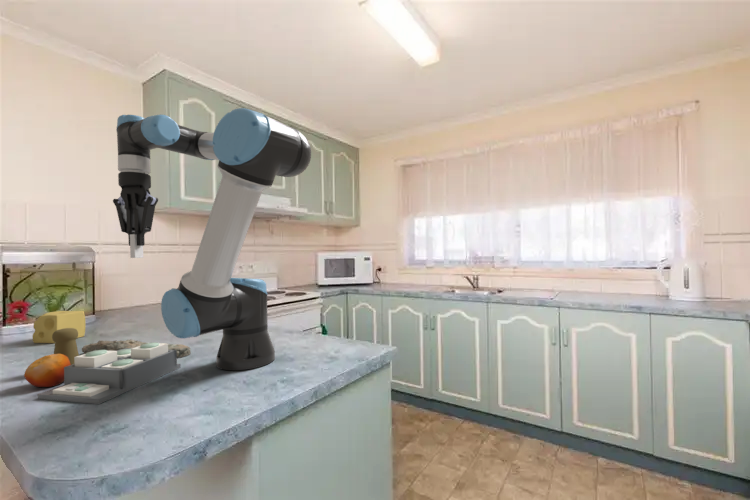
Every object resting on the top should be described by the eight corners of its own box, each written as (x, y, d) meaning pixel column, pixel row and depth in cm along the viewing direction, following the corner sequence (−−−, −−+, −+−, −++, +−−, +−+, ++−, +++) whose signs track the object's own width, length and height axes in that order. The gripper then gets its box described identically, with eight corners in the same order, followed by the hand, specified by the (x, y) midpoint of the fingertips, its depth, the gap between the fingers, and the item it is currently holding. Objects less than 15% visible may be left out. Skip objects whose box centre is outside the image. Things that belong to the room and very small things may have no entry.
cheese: (32, 343, 123) (31, 315, 123) (64, 335, 133) (63, 309, 133) (56, 344, 121) (56, 315, 121) (87, 336, 132) (86, 309, 132)
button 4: (168, 355, 90) (167, 341, 90) (150, 362, 85) (149, 348, 85) (150, 354, 91) (149, 341, 91) (130, 361, 86) (130, 347, 86)
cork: (63, 374, 89) (62, 331, 89) (44, 373, 90) (43, 331, 90) (87, 366, 95) (86, 326, 95) (69, 365, 96) (68, 326, 96)
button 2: (143, 372, 83) (143, 358, 83) (122, 381, 77) (121, 366, 77) (124, 371, 84) (123, 357, 84) (101, 380, 79) (101, 365, 79)
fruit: (87, 371, 87) (67, 348, 83) (55, 399, 80) (32, 375, 76) (66, 368, 89) (46, 346, 85) (34, 395, 83) (10, 372, 79)
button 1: (117, 363, 84) (117, 349, 84) (94, 371, 79) (94, 356, 79) (98, 362, 86) (98, 348, 86) (74, 370, 80) (74, 355, 80)
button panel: (180, 367, 92) (180, 348, 92) (99, 404, 71) (98, 379, 71) (130, 364, 96) (129, 346, 96) (38, 398, 74) (37, 375, 74)
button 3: (144, 361, 92) (143, 348, 92) (124, 368, 86) (124, 354, 86) (126, 360, 93) (126, 347, 93) (106, 367, 87) (105, 353, 87)
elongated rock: (175, 367, 98) (198, 357, 108) (176, 348, 98) (199, 340, 108) (68, 357, 103) (100, 349, 113) (70, 339, 103) (101, 333, 113)
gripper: (165, 174, 100) (167, 257, 100) (127, 177, 102) (129, 257, 102) (142, 168, 92) (145, 257, 92) (102, 172, 95) (104, 258, 95)
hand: (137, 257), depth 97 cm, fingers closed
